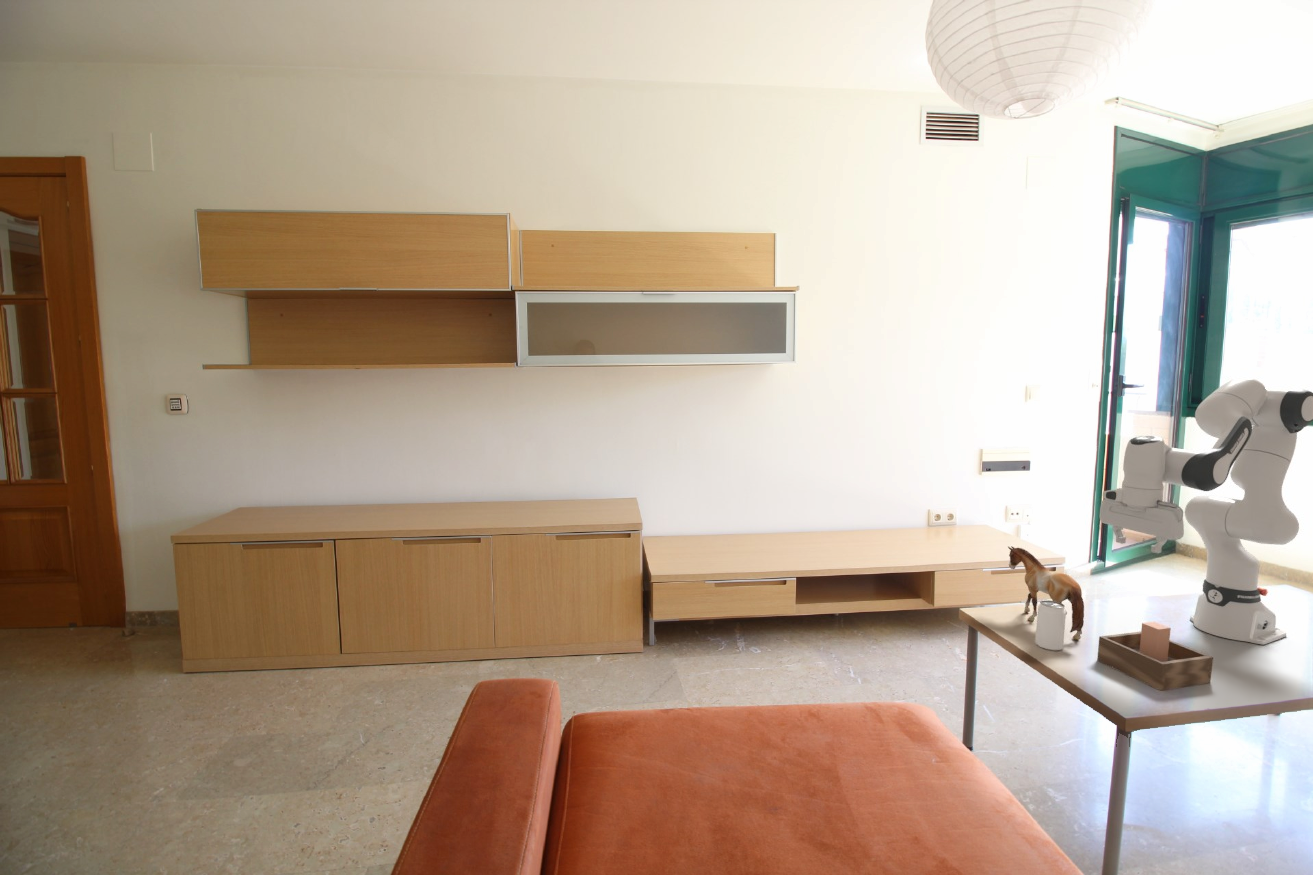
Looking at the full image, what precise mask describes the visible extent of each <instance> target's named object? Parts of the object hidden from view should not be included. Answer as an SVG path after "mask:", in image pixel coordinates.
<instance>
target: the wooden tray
mask: <svg viewBox="0 0 1313 875" xmlns="http://www.w3.org/2000/svg"><path fill="white" fill-rule="evenodd" d="M1140 640H1141V631H1134V632H1125V633H1117V634H1116V633H1115V634H1108V635H1101V636H1099V637H1098V648H1097V649H1098V650H1097V660H1096V661H1098V662H1099V663H1101V662H1102V664H1104V665H1106V666H1108V667H1109V668H1112V669H1114V670H1116V671H1118V672H1121V673H1123V674H1124V673H1125V674H1124V675H1127V676H1128V677H1131V678H1133V679H1135V680H1137V681H1139V682H1142V683H1144V684H1145V685H1148V686H1150V687H1152V688H1154V689H1156V690H1157V691H1167V690H1171V689H1172V690H1174V689H1181V688H1186V687H1193V686H1199V685H1205V684H1211V678H1212V670H1213V664H1214V663H1213V661H1214V657H1213V656H1211V655H1208V654H1206V653H1203V652H1202V651H1199V650H1195V649H1194V648H1191V647H1188V646H1185V645H1183V644H1181V643H1179V642H1176V641H1173V640H1171V639H1169V649H1168V659H1167V661H1165V662H1161V661H1158V660H1156V659H1154V658H1152V657H1149V656H1147V655H1145V654H1142V653H1140V652H1139V650H1140Z"/></svg>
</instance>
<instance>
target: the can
mask: <svg viewBox="0 0 1313 875" xmlns="http://www.w3.org/2000/svg"><path fill="white" fill-rule="evenodd" d="M1039 602H1040V603H1039V605H1037V606H1038V607H1037V616H1036V617H1037V618H1036V626H1035V627H1036V628H1035V639H1034V640H1035V641H1034V642H1035V644H1036V645H1037V647H1039V648H1042V649H1043V650H1047V651H1053V652H1059V651H1062V650H1063V649H1064V641H1065V627H1066V618H1067V616H1066V615H1067V614H1066V612H1067V610H1066V609H1065V604H1063V603H1059V602H1056V601H1053V600H1051V599H1050V600H1047V599H1045V600H1041V601H1039Z"/></svg>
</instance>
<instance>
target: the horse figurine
mask: <svg viewBox="0 0 1313 875" xmlns="http://www.w3.org/2000/svg"><path fill="white" fill-rule="evenodd" d="M1007 548H1008V549H1009V555H1008V556H1009V563H1008V567H1009V568H1010V569H1012V570H1014V569H1016V567H1017V565H1019V564H1020V563H1021V562H1022V564H1023V566H1024V569H1025V574H1024V583H1025V584H1026V586H1027V588H1028V591H1029V593H1028V594H1027V599H1026V601H1025V603H1024V604H1025V607H1024V613H1030V611H1031V608H1030V607H1029V606H1030V604H1032V606H1033V608H1032V609H1033V611H1032V614H1031V615H1030V616H1028V618H1027V620H1028V621H1029V622H1034V620H1035V618H1036V617H1037V614H1038V607H1037V606H1038V596H1037V595H1038V593H1039V592H1042V593H1044V594H1046V595H1048V596H1049V598H1050V600H1051V601H1056V602H1059V603H1062V602H1064V601H1066V600H1068V601H1069V603H1070V604H1071V611H1072V613H1071V629H1070V630H1069V633H1073V632H1074V631H1075V632H1076V633H1074V635H1073V636H1072V639H1074V640H1078V641H1079V640H1081V638H1082V636H1081V635H1082V634H1083V631H1082V629H1083V627H1084V619H1085V618H1084V617H1085V604H1084V599H1083V597H1082V596H1083V595H1082V594H1083V593H1082V588H1081V585H1080V584H1079V582H1077V581H1076V580H1075V578H1073V577H1072V576H1070V575H1069V574H1066V573H1062V572H1061V573H1060V572H1054V571H1051V570H1049V569H1048V568H1047V567H1045V566H1044V565H1043V564H1042V563H1041V562H1040V561H1039V560H1038V558H1036V557H1035V556H1034V555H1033V554H1032V553H1030V552H1029V551H1028V550H1026V549H1024V548H1022V547H1014V546H1007ZM1062 604H1063V603H1062ZM1067 613H1068V612H1067V611H1066V615H1067Z"/></svg>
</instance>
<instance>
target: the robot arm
mask: <svg viewBox="0 0 1313 875" xmlns="http://www.w3.org/2000/svg"><path fill="white" fill-rule="evenodd" d="M1194 417H1195V421H1196V424H1197V425H1198V427H1199V429H1201V430H1202V431H1203V432H1204V433H1205V434H1207V435H1209V436H1210V437H1214V438H1217V441H1216V442H1215V444H1214V445H1213V447H1212V448H1211V449H1207V450H1205V449H1204V450H1193V449H1184V448H1183V449H1182V448H1176V447H1173V446H1170V445H1168V444H1166V443H1165V440H1164V438H1162V437H1160V436H1155V435H1144V436H1142V435H1141V436H1135V437H1132V438H1131V439H1129V440H1128V442H1127V444H1126V448H1125V450H1124V456H1123V457H1124V458H1123V463H1122V464H1123V466H1122V467H1123V468H1122V471H1123V474H1124V476H1123V480H1122V483H1121V488H1116V489H1109V490H1104V491H1103V492H1102V498H1103V500H1102V501H1101V502H1100V506H1099V521H1100V522H1101V523H1102V524H1106V525H1109V526H1112V532H1113V534H1114V535H1115V542H1116V543H1118V544H1122V545H1123V544H1126V542H1127V537H1126V536H1124V534H1123V532H1122V530H1124V529H1125V530H1129V531H1133V532H1138V533H1140V534H1146V535H1149V536H1153V537H1155V540H1156V543H1155V544H1152V545H1150V552H1152V553H1153V554H1154V553H1155V554H1160V553H1162V547H1163V546H1164V545H1165V544H1166V543H1167V541H1168V540H1169V541H1175V540H1181V539H1182V538H1183V537H1184V534H1185V529H1184V526H1185V524H1184V517H1185V520H1186V522H1187V523H1188V524H1189V525H1190V526H1191V527H1192V528H1193V529H1195V531H1196V532H1197V533H1198V535H1199V537H1200V538H1201V540H1202V542H1203V545H1204V547H1205V551H1206V556H1207V557H1206V562H1207V563H1206V575H1205V579H1204V580H1203V583H1202V592H1203V593H1201V594H1200V595H1199V596H1198V598H1197V602H1196V607H1195V609H1194V610H1195V611H1194V615H1190V618H1189V620H1190V621H1191V622H1193V626H1194V627H1195V628H1196V629H1198V630H1200V631H1203V632H1204V633H1208V634H1210V635H1213V636H1217V637H1220V638H1223V639H1224V638H1225V639H1228V640H1229V639H1230V640H1234V641H1241V642H1249V643H1252V644H1258V645H1268V644H1269V643H1272V642H1274V641H1278V640H1280V639H1282V638H1287V637H1286V636H1287V633H1286V631H1284V630H1282V629H1280V628H1278V627H1276V624H1277V622H1276V620H1277V619H1276V614H1275V612H1273V611H1272V610H1271V609H1270V608H1268V607H1267V606H1266V605H1265V604H1264V603H1263V602H1262V599H1261V596H1262V597H1263V596H1264V597H1266V596H1267V595H1268V593H1269V592H1268V589H1267V588H1262V587H1260V586H1259V587H1258V583H1259V577H1260V576H1259V574H1260V567H1261V565H1260V563H1259V560H1258V559H1257V557H1255V556H1254V555H1253V554H1252V553H1250V552H1249V551H1248V550H1246V548H1245V546H1244V545H1243V544H1242V541H1241V540H1243V541H1248V542H1252V543H1257V544H1260V545H1261V544H1262V545H1263V544H1264V545H1282V546H1283V545H1286V544H1288V543H1290V542H1292V541H1293V540H1294V539H1295V538H1296V537H1297V535H1298V532H1299V530H1300V524H1299V521H1298V518H1297V516H1296V515H1295V513H1293V512H1292V511H1291V510H1290V509H1289V508H1288V507H1287V505H1286V504H1285V501H1284V499H1283V498H1284V497H1283V495H1282V494H1283V493H1282V491H1283V490H1282V489H1283V484H1284V481H1285V479H1286V478H1285V477H1286V475H1287V472H1288V471H1289V470H1288V469H1289V467H1290V465H1291V462H1292V460H1293V457H1294V453H1295V449H1296V445H1297V438H1298V433H1299V432H1300V431H1302V430H1303V429H1304V428H1306V427H1307V426H1309V425H1310V424H1311V423H1312V422H1313V392H1312V391H1309V390H1308V389H1307V390H1306V389H1302V388H1285V387H1276V386H1275V387H1274V386H1265V385H1264V384H1263V383H1262V382H1260V381H1259V380H1257V379H1255V378H1252V377H1247V376H1245V377H1243V376H1242V377H1236V378H1233V379H1231V380H1229V381H1228V382H1226V383H1224V384H1223V385H1221V386H1219V387H1218V388H1216V389H1215V390H1214V391H1213V392H1211V393H1210V394H1209V395H1208V396H1207V397H1206V398H1205V399H1204V400H1202V401H1201V402H1200V403H1199V405H1198V406H1197V408H1196V410H1195V413H1194ZM1229 474H1230V479H1231V481H1232V482H1233V483H1234V484H1235V485H1237V487H1239V488H1241V489H1242V490H1244V495H1243V499H1235V498H1231V497H1225V496H1224V497H1223V496H1218V495H1196V496H1194V497H1193V498H1191V499H1190V500H1189V501H1188V502H1187V503H1186V505H1185V509H1184V510H1183V509H1182V507H1181V506H1179V504H1177V503H1175V502H1174V503H1173V502H1172V503H1171V502H1167V501H1164V489H1165V488H1164V487H1165V486H1164V483H1165V484H1169V485H1175V486H1181V487H1185V488H1186V487H1188V488H1191V489H1194V490H1199V491H1203V492H1211V491H1213V490H1215V489H1217V488H1219V487H1220V486H1222V485H1223V484H1224V483H1225V482H1226V481H1227V479H1228V477H1229Z"/></svg>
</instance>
